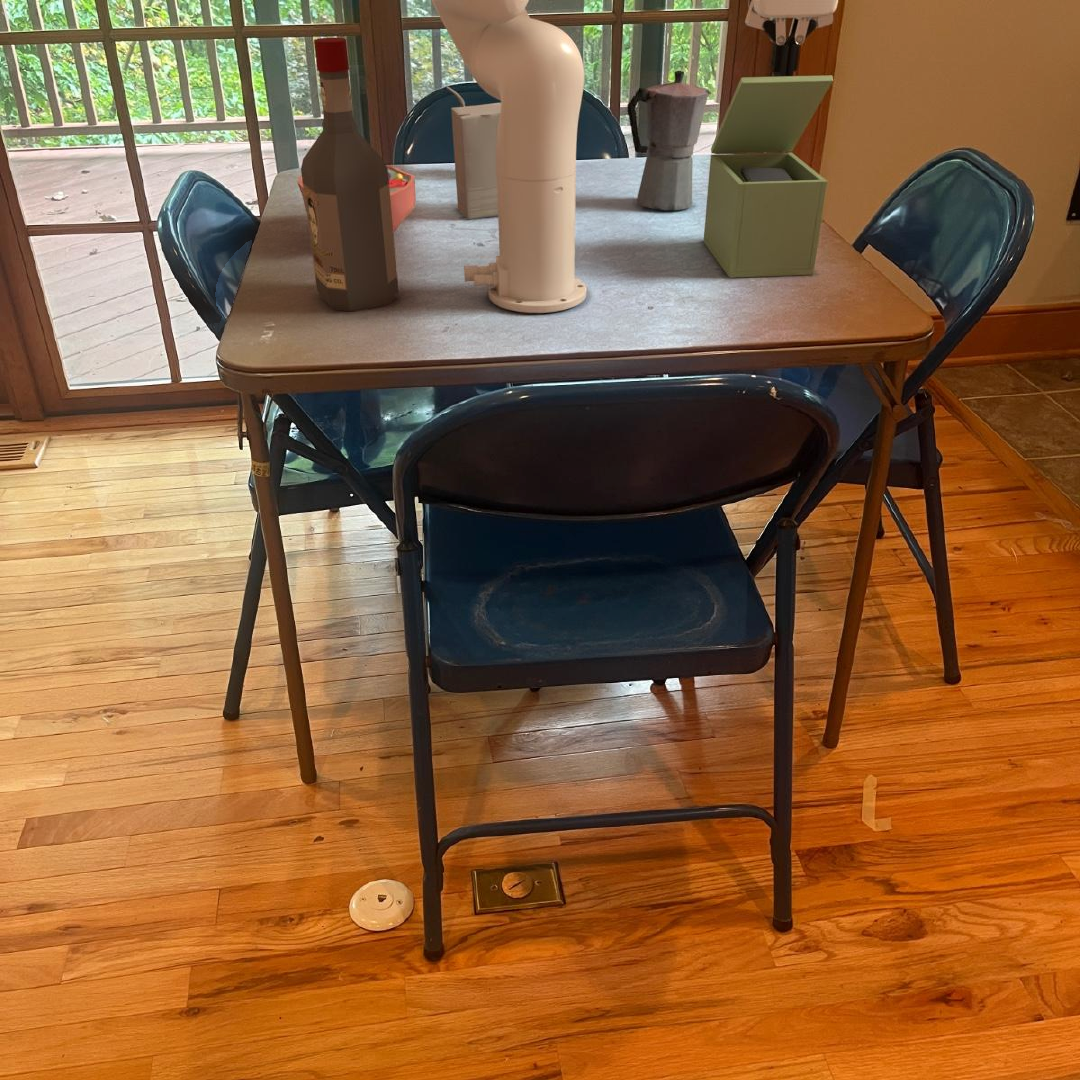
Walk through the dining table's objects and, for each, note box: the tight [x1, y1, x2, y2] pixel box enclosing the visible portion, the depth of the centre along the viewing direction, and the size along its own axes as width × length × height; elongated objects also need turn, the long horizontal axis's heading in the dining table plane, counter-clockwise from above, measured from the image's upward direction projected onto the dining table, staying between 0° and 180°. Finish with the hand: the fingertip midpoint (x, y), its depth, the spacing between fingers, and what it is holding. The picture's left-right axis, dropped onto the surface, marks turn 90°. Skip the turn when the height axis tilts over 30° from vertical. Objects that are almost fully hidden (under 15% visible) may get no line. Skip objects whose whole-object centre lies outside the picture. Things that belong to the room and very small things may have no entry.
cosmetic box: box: [450, 102, 501, 220], centre depth 156 cm, size 8×7×16 cm
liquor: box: [300, 37, 399, 312], centre depth 121 cm, size 9×9×30 cm
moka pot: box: [626, 70, 712, 211], centre depth 157 cm, size 10×15×20 cm, turn 124°
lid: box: [710, 75, 834, 155], centre depth 132 cm, size 16×12×1 cm
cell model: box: [296, 165, 417, 234], centre depth 147 cm, size 17×20×11 cm
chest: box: [703, 151, 828, 279], centre depth 138 cm, size 16×12×12 cm
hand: (782, 78), depth 126 cm, fingers closed
